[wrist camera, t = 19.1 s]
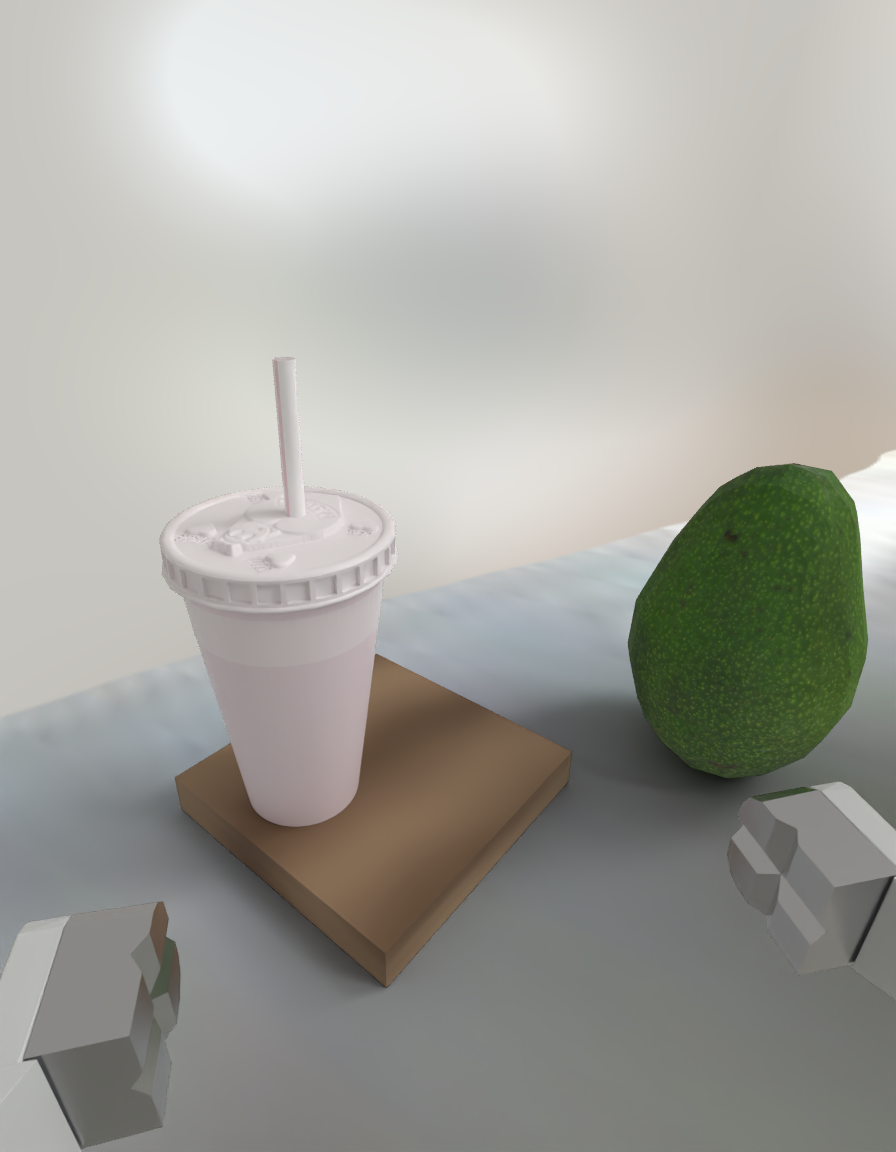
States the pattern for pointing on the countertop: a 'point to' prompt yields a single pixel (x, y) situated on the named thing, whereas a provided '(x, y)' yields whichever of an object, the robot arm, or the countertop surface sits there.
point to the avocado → (754, 623)
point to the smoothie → (287, 623)
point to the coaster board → (393, 818)
